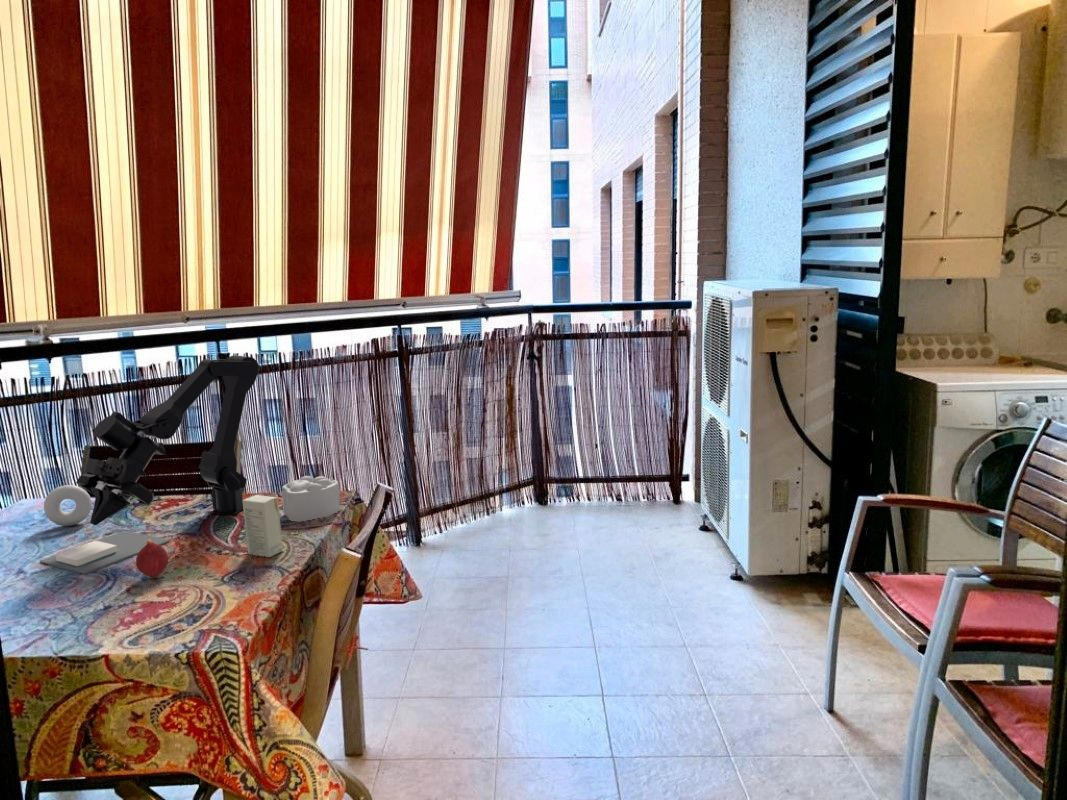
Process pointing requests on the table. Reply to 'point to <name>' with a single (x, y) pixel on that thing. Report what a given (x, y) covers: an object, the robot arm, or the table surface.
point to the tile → (86, 553)
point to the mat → (126, 548)
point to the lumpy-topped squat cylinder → (310, 498)
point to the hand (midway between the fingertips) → (92, 524)
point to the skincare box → (262, 525)
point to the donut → (61, 494)
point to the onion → (152, 559)
